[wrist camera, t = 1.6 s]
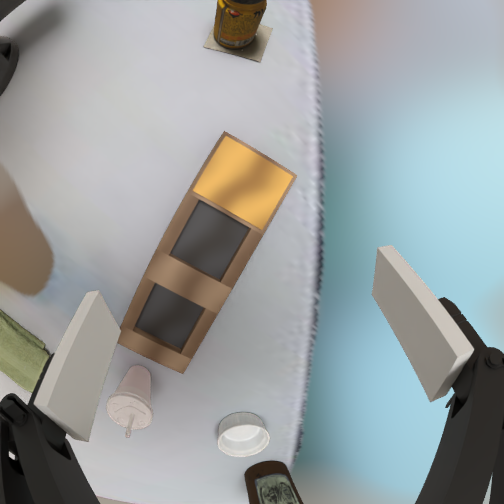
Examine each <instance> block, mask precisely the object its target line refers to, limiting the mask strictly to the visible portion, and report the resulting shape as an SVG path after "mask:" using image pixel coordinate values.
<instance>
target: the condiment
mask: <svg viewBox="0 0 504 504" xmlns="http://www.w3.org/2000/svg"><path fill="white" fill-rule="evenodd" d="M266 6H267V1H266V0H218V2H217V9H216V17H215V24H214V27H213V29H212V31H211V33H210V35H209V37H208V39H207V41H206V43H205V45H204V47H206V48H210V49H214V50H219V51H222V52H226V53H230V54H234V55H239V56H241V57H245V58H248V59H252V60H256V61H259V62H260V61H261V58H262V56H263V53H264V50H265V47H266V45H267V42H268V40H269V37H270V34H271V32H272V29H273V28H270V27H267V26H263V25H261V24H260V21H261V19H262V16H263V14H264V12H265V10H266ZM256 34H257V35H256Z"/></svg>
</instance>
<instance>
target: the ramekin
mask: <svg viewBox="0 0 504 504" xmlns="http://www.w3.org/2000/svg"><path fill="white" fill-rule="evenodd" d="M269 440H270V436H269V433H268V432H267V430H266V429H265V427H264V425H263V422H262V421H261V419H260V418H259V417H258V416H256V415H254V414H252V413H247V412H239V413H234V414H231V415H229V416H227V417H226V418H224V419H223V420H222V421H221V423H220V425H219V429H218V441H217V443H218V447H219V449H220V450H221V451H222V452H224V453H225V454H227V455H230V456H235V457H247V456H251V455H254V454H257V453H259V452H260V451H262V450H263V449H264V448H265V447H266V446H267V445H268V443H269Z"/></svg>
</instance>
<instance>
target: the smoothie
mask: <svg viewBox="0 0 504 504" xmlns="http://www.w3.org/2000/svg"><path fill="white" fill-rule="evenodd" d="M106 409H107V413H108V415H109V416H110V418H111V419H112V420H113V421H114V422H116V423H117V424H119V425H121V426H122V427H125V428H127V430H126V435H125V436H126V437H127V438H129V437H130V433H131V429H143V428H145V427H147V426H149V425H150V423H151V421H152V417H153V410H152V408H151V374H150V372H149V371H148V370H147V369H146V368H145V367H143V366H140V365H135V366H132V367H131V368H130V369H129V370H128V372H127V373H126V375H125V377H124V378H123V380H122V382H121V383H120V385H119V386H118V388H117V390H116V391H115V393H114V394H112V395H111V396H110V397H109V398H108V401H107V405H106Z"/></svg>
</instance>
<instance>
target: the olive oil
mask: <svg viewBox="0 0 504 504" xmlns="http://www.w3.org/2000/svg"><path fill="white" fill-rule="evenodd" d="M245 481H246V486H247V492H248V497H249V503H250V504H303V502H302V500H301V498H300V496H299V494H298V492H297V489H296V487H295V485H294V483H293V481H292V478H291V476H290V474H289V471H288V469H287V467H286V465H285V464H284V463H282V462H278V461H266V462H261V463H258V464H255V465H253V466H252V467H250V468H249V469H248V470H247V471H246V472H245Z"/></svg>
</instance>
